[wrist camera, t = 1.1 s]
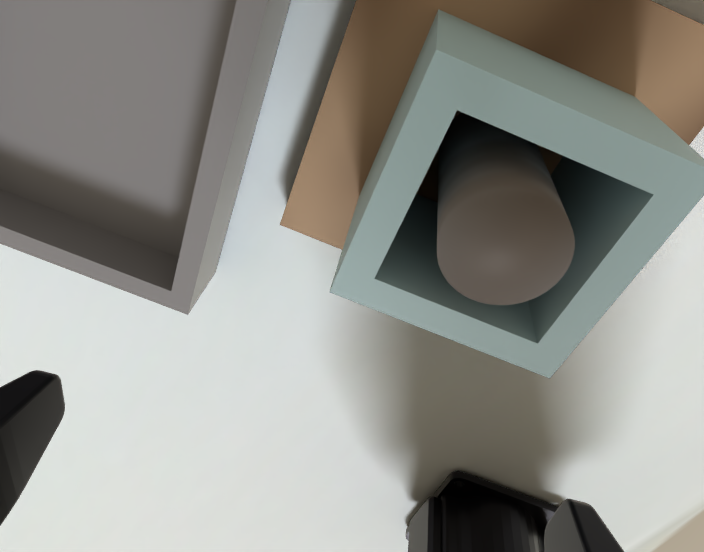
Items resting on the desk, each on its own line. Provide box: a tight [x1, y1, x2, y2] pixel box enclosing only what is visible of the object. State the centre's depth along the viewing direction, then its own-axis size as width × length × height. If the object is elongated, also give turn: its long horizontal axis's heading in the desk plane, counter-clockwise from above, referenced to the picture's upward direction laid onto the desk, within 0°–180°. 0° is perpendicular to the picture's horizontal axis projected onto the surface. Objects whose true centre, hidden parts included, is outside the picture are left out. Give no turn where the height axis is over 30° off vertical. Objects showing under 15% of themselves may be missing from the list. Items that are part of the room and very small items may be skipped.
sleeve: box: [330, 9, 704, 378], centre depth 15 cm, size 8×6×6 cm
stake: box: [280, 0, 704, 305], centre depth 15 cm, size 11×11×8 cm
